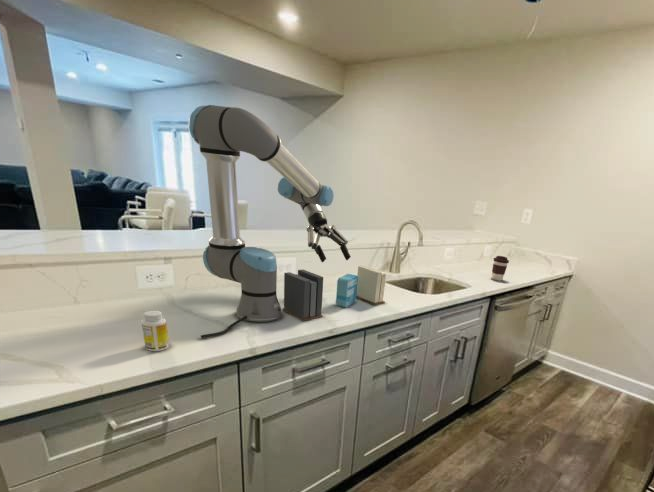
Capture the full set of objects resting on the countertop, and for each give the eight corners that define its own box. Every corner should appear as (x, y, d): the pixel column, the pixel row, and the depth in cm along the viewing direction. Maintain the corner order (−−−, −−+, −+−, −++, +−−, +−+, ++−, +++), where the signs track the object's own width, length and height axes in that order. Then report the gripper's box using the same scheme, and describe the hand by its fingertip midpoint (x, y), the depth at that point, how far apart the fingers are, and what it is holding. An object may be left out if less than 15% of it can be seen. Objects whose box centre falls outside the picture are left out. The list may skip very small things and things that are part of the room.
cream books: (374, 305, 167) (377, 273, 161) (353, 297, 174) (356, 266, 169) (384, 303, 172) (388, 271, 167) (364, 295, 179) (367, 264, 174)
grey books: (304, 320, 139) (305, 279, 133) (283, 310, 146) (283, 270, 140) (322, 316, 145) (324, 277, 139) (301, 307, 153) (302, 269, 147)
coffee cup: (504, 282, 249) (509, 259, 243) (489, 279, 250) (494, 256, 244) (504, 279, 258) (509, 257, 252) (489, 276, 259) (494, 254, 253)
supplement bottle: (170, 343, 109) (166, 309, 106) (167, 351, 105) (163, 316, 101) (147, 344, 107) (142, 309, 103) (143, 352, 103) (138, 316, 99)
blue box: (345, 308, 158) (347, 280, 153) (335, 306, 159) (337, 278, 154) (356, 301, 169) (358, 274, 164) (346, 299, 170) (348, 273, 165)
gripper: (333, 222, 175) (353, 262, 173) (287, 221, 157) (308, 266, 154) (342, 212, 170) (362, 253, 168) (295, 210, 152) (317, 256, 149)
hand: (336, 259), depth 161 cm, fingers open, 13 cm apart
